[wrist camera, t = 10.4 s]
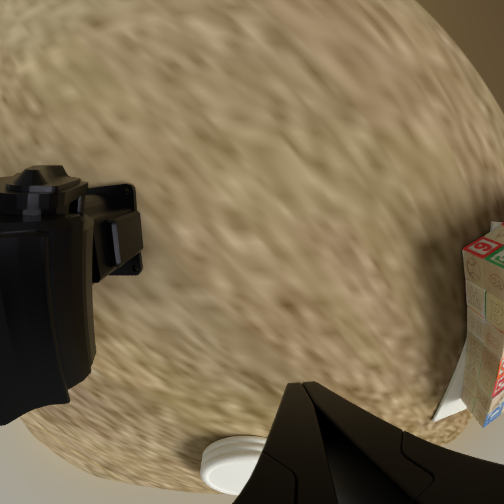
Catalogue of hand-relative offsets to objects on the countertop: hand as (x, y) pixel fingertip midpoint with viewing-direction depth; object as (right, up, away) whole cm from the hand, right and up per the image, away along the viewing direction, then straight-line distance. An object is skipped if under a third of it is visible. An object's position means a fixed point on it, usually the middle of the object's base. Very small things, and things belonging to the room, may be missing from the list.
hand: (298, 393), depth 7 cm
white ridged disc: (-2, -19, +19) cm, 27 cm away
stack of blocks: (+20, -6, +12) cm, 24 cm away
